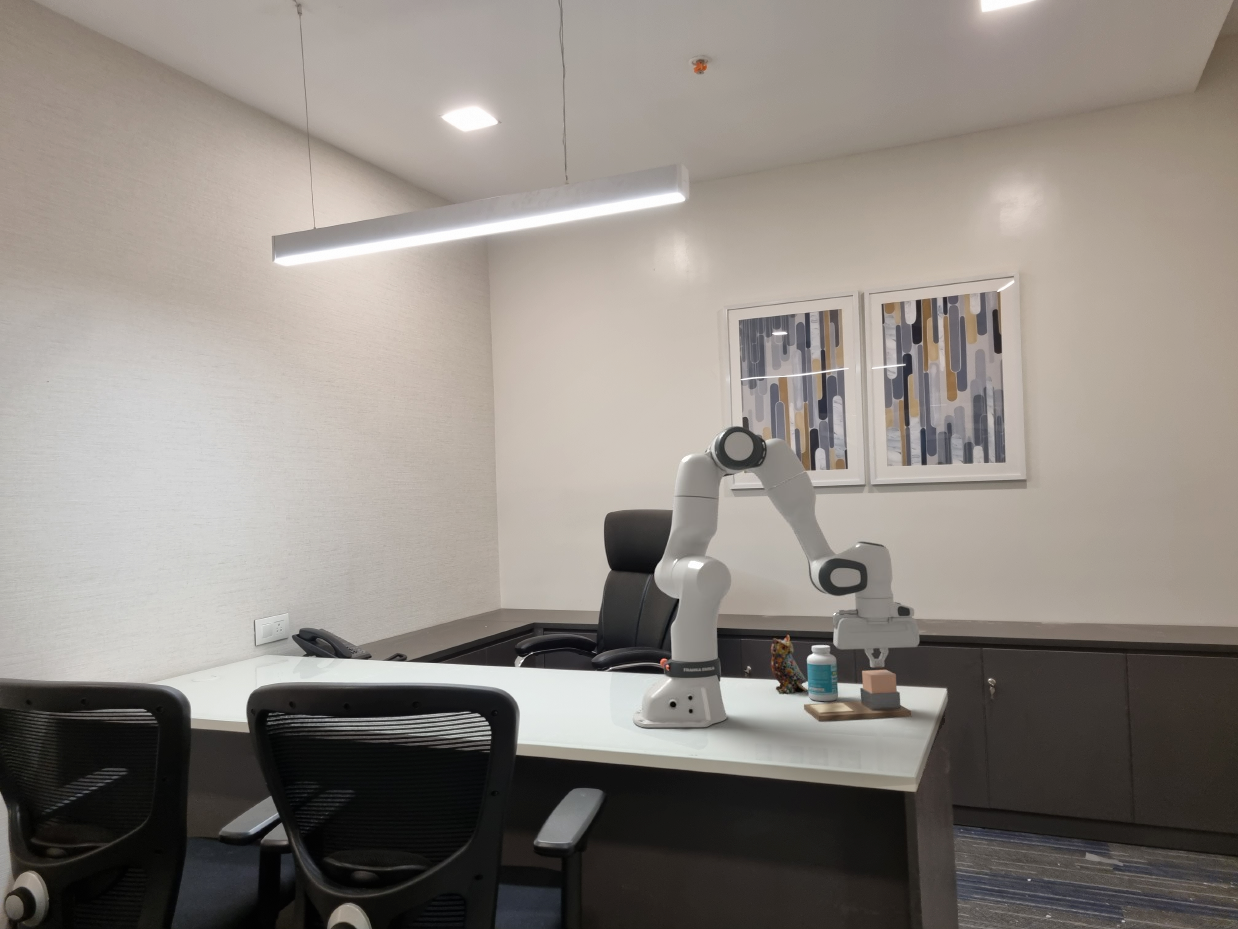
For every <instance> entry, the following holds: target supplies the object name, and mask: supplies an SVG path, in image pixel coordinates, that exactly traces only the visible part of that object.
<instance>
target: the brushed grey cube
mask: <svg viewBox="0 0 1238 929" xmlns="http://www.w3.org/2000/svg"><path fill="white" fill-rule="evenodd" d="M859 689H860V701H861V704H862V705H864V706H865V707H867V708H869V709H870V710H889V709H901V707H900V705H901V694H900V691H897V692H892V693H873V694H872V693H870V692H868V691H867V690H865V689H863V687H860V688H859Z"/></svg>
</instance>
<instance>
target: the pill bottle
mask: <svg viewBox="0 0 1238 929" xmlns="http://www.w3.org/2000/svg"><path fill="white" fill-rule="evenodd" d="M811 651H812V653H811V654H809V655H808V656H807V658H806V664H807V666H806V668H807V669H806V670H807V688H808V689H807V691H808V698H809V699H811V700H812V701H814V702H815V701H816V702H833V701H836V700H837V699H838V698H839V690H838V689H839V688H838V686H839V685H838V671H837V670H838V668H837V658H836V657H835V655H833V654H831V653H830V652H831V646H830V645H827V644H825V645H824V644H816V645H811Z"/></svg>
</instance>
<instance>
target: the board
mask: <svg viewBox="0 0 1238 929" xmlns="http://www.w3.org/2000/svg"><path fill="white" fill-rule="evenodd" d="M900 707H901V709H889V710H870V709H869V708H867V707H865V706H864V705H862V704H861V700H860V701H847V702H844V701H842V702H829V703H825V702H824V703H807V704H803V710H804V711H805V712H806V713H808V714H810V716H812V717H813V718H814V719H815V720H816V721H818V722H828V721H829V722H830V721H848V720H849V721H850V720H863V719H864V720H865V719H868V720H870V719H884V718H902V717H903V718H904V717H906V718H907V717H912V710H910V709H908V708H907V707H905V706H903V705H902V704H900Z"/></svg>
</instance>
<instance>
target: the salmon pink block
mask: <svg viewBox="0 0 1238 929" xmlns="http://www.w3.org/2000/svg"><path fill="white" fill-rule="evenodd" d="M861 675H862V677H861V678H862V688H863V689H865V690H867V691H868V692H870V693H872V694H873V693H892V692H897V674H896V673H893V672H892V671H889V670H887V669H875V670H872V669H871V670H862V671H861Z"/></svg>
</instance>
